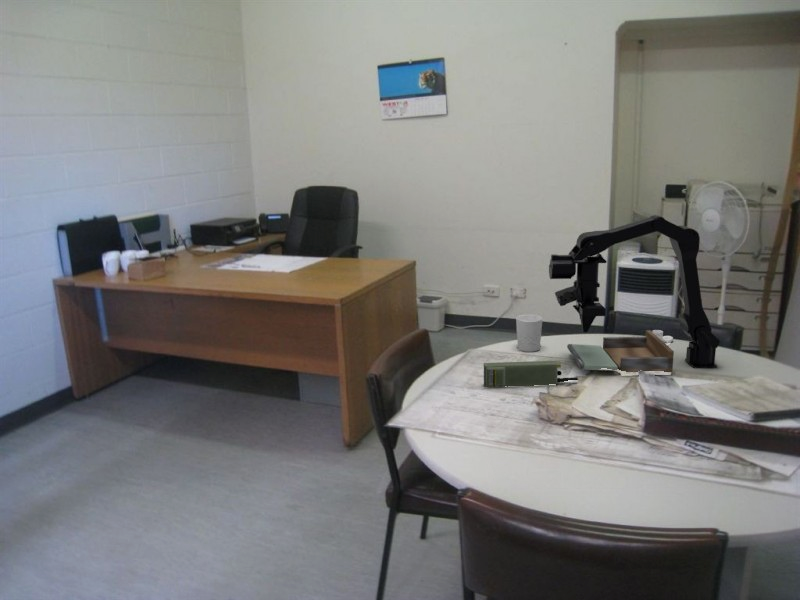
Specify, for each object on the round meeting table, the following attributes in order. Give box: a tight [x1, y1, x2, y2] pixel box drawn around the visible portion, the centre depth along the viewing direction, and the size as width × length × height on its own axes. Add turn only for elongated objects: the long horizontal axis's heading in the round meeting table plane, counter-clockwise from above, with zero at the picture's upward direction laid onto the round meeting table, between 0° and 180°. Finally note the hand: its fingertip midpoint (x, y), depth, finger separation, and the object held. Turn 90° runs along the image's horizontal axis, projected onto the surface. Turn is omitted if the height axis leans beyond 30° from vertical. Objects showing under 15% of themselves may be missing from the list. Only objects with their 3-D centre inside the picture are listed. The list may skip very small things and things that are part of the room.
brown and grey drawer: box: [602, 329, 675, 373], centre depth 178 cm, size 14×19×7 cm
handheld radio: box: [483, 360, 579, 388], centre depth 166 cm, size 7×3×25 cm
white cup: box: [515, 314, 543, 353], centre depth 193 cm, size 8×8×10 cm
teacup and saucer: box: [651, 329, 674, 347], centre depth 196 cm, size 9×8×4 cm
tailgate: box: [566, 343, 618, 371], centre depth 179 cm, size 2×18×10 cm
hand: (584, 331), depth 177 cm, fingers closed
